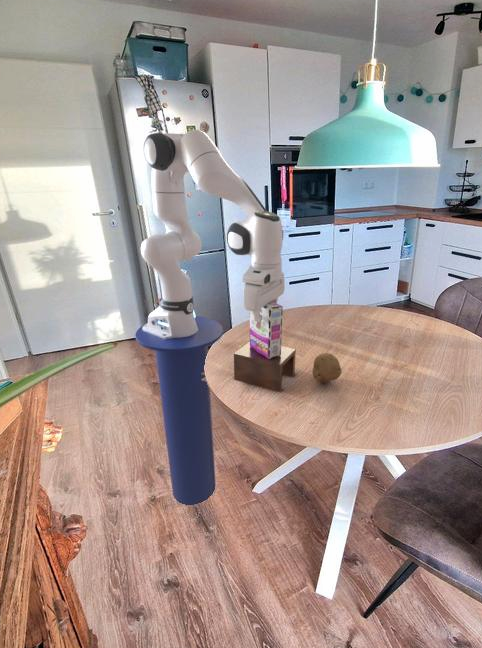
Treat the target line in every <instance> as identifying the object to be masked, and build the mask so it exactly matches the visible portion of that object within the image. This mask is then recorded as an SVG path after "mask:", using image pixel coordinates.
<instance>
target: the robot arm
mask: <svg viewBox="0 0 482 648" xmlns="http://www.w3.org/2000/svg"><path fill="white" fill-rule="evenodd" d="M143 155H144V159H145V160H146V162H147V164H148V166H150V168H151V173H150V174H151V175H150V185H151V186H150V187H151V197H152V209H153V214H154V216H155V217H156V218H157V219H158V220H159V221H161V222H162V223H163V225H164V227H165V232H164V233H156V234H153V235H151V236H149V237H147V238H146V239H145V238H144V240H143V241H142V242H141V245H140V254H141V257H142V259H143V260H144V262H145V263H147V264H148V265H149V266H151V267H152V268H153V269H154V270H155V272H156V275H157V277H158V278H159V282H160V288H161V297H160V298H158V299H157V303H159V306H158V307H156V308H155V309H154V310H152V311H151V312H150V313H149V315H148V317H147V324H146V323H145V324H146V325H145V324H143V325H144V326H143V325H142V326H143V328H142V330H143V331H145V332H148V333H150V334H153V335H155V336H158V337H161V338H163V339H171V338H181V337H187V336H191V335H193V334H195V333H197V332H198V327H197V324H196V321H195V316H196V313H195V310H194V296H192V294H193V293H192V282H191V281H192V280H191V278H190V276H189V275H188V274H187V273H185V272H183V270H182V268H181V264H180V263H181V262H183V261H184V262H185V261H187V260H191V259H193V258H194V257H196V256H197V255H199V254H200V253H201V252H202V247H203V243H202V239H201V237H200V236H199V234H198V233H197V232H195V230H194V229H193V228H192V226H191V224H190V221H189V218H188V217H189V216H188V214H187V203H186V190H185V181H184V180H185V175H186V174H187V173H189V174H190V177H191V178H192V180H193V182H194V184H195V185H196V186H197V187H198V189H199V190H200V191H201V192H202V193H204V194H206V195H208V196H210V197H216V198H220V199H223V200H227V201H229V202H232V203H234V204H235V205H237V206H238V207H239V208H240V209H241V210H242V211H243V213H244V214H245V216H246V217H247V218H246V219H243V220H239V221H236V222H232V223H231V224H230V225H229V227H228V229H227V232H226V243H227V246H228V248H229V250H230V251H231V252H232V253H233V254H235V255H237V256H250V265H249V266H248V269H247V270H246V271H245V272H244V274H243V275H242V282H243V283H244V285H243V296H242V297H243V307H244V309H245V310H246V311H249V312H250V311H252V312H253V314H254V320H255V321H256V322H260V321H261V320H262V315H261V314H260V311H261V308H262V307H264V306H265V305H267V304H268V303H270V302H271V301H272V302H274V303H277V304H278V300H279V297H282V295H284V293H285V287H286V286H285V285H286V284H285V273H284V272H283V268H282V267H283V266H282V265H283V260H282V255H281V254H282V249H283V241H284V230H283V223H282V220H281V217H280V216H279V215H278V214H276V213H274V212H271V211H268V210H267V209H266V207H265V206H264V205H263V203H262V202H261V201H260V199H259V197H258V196H257V195H256V193H254V191H253V190H252V188H251V187H250V186H249V185H248V183H247V182H246V181H245V180H244V179H243V178H242V177H240V176H239V175H238V174H237V173H236V172H235V171H234V170H233V169H232V168H231V167H230V165H229V164H228V163H227V161H226V160H225V158H224V157H223V156H222V154H221V152H220V150H219V149H218V147H217V146H216V144H215V142H213V140H212V139H211V138H210V137H209V135H208V134H206V133H205V132H204V131H202V130H200V129H191V130H189V131H187V132H186V133H180V132H177V133H172V132H171V133H168V132H167V133H162V132H154V133H150V134H148V135H147V136H146V138H145V140H144V144H143Z"/></svg>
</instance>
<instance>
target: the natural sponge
mask: <svg viewBox="0 0 482 648" xmlns="http://www.w3.org/2000/svg"><path fill="white" fill-rule="evenodd" d="M342 372H343V371H342V367H341V364H340V362H339V360H338V358H337V357H336V356H335V355H334V354H332V353H329V352H328V353H327V352H323V353H320V354H318V355H317V356H316V357H315V359H314V361H313V368H312V372H311V374H312V378H313V379H314V381H315V380H316V381H318V382H320V383H329V382H332V381H335V380H337V379H339V378H340V376H341V375H342Z"/></svg>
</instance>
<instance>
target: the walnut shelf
mask: <svg viewBox="0 0 482 648" xmlns="http://www.w3.org/2000/svg"><path fill="white" fill-rule="evenodd" d="M296 350H297V349H296V348H291V347H288V346H284V345H283V346H282V345H281V356H279V357H275V358H272V359H268V358H266V357H265V356H263V355H262V354H260V353H258V352H257V351H255V350H254V349H252V348H251V347H250V341H248V342H247V343H246V344H245V345H243V346H241V348H239V349H238V350H237V351H235V352H234V353H233V375H234V377H233V379H234V381H238V382H242V383H244V384H248V385H253V386H256V387H260V388H264V389H268V390H271V391H274V392H279V393H280V392H281V391H282V390H283V389H282V388H283V375H284V376H288V377H294V376H295V372H296Z"/></svg>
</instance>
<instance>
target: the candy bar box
mask: <svg viewBox="0 0 482 648" xmlns="http://www.w3.org/2000/svg"><path fill="white" fill-rule="evenodd" d="M260 314H261V315H262V320H261V321H260V322H256V321H255V320H254V314H253V312H252V311H249V342H250V347H251V348H252V349H254V350H255V351H257V352H258V353H260V354H262V355H263V356H265V357H266V358H268V359H272V358H275V357H279V356H281V346H282V338H283V337H282V336H283V335H282V333H283V305H281V304H278V302H277V303H274V302H272V301H271V302H270V303H268V304H267V305H265V306H264V307H262V308H261V311H260Z"/></svg>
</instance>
